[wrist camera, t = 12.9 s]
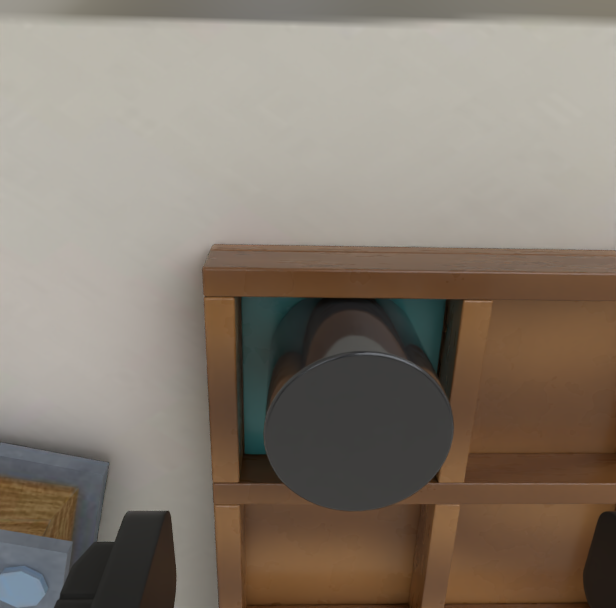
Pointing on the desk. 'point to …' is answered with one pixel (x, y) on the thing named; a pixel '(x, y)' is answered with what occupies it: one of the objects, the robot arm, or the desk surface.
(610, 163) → the desk surface
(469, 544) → the board
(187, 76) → the desk surface
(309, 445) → the dark grey cylinder
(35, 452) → the book
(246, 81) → the desk surface
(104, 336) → the desk surface
